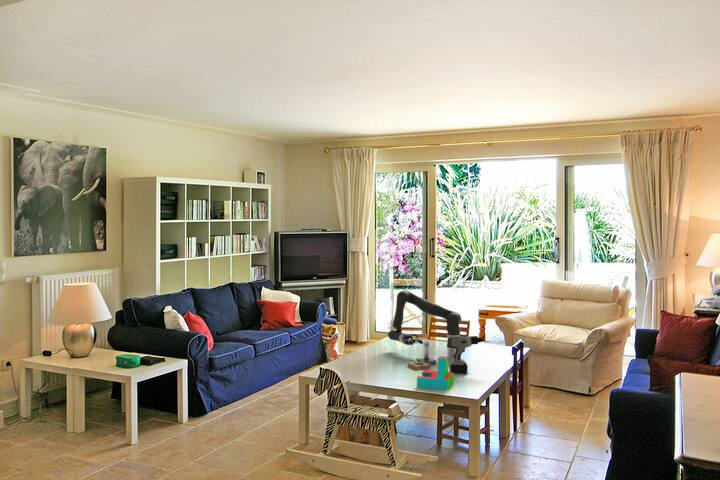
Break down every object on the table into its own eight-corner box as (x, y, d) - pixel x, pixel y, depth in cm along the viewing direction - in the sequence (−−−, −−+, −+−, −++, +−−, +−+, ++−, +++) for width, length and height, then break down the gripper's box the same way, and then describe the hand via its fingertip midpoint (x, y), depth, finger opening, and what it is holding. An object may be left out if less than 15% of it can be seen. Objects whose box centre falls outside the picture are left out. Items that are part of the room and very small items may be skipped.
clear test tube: (427, 362, 438) (427, 340, 438) (429, 363, 435) (430, 340, 435) (423, 362, 437) (423, 340, 436) (425, 363, 434) (426, 341, 433)
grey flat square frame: (428, 360, 443) (428, 357, 443) (436, 363, 434) (436, 360, 434) (416, 362, 438) (416, 358, 438) (424, 365, 429) (424, 361, 429)
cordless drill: (483, 375, 403) (483, 337, 402) (446, 372, 408) (446, 335, 407) (483, 372, 411) (483, 335, 410) (446, 370, 416) (447, 333, 415)
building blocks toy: (455, 380, 390) (455, 352, 389) (447, 391, 367) (447, 360, 366) (426, 377, 396) (426, 349, 396) (416, 387, 373) (417, 358, 372)
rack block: (422, 365, 430) (422, 361, 430) (430, 368, 421) (430, 364, 421) (408, 366, 424) (408, 363, 424) (415, 370, 415) (415, 366, 415)
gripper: (398, 334, 457) (409, 338, 442) (414, 333, 463) (426, 337, 449) (397, 344, 457) (409, 349, 442) (413, 343, 463) (425, 347, 449)
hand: (417, 343), depth 446 cm, fingers open, 8 cm apart
